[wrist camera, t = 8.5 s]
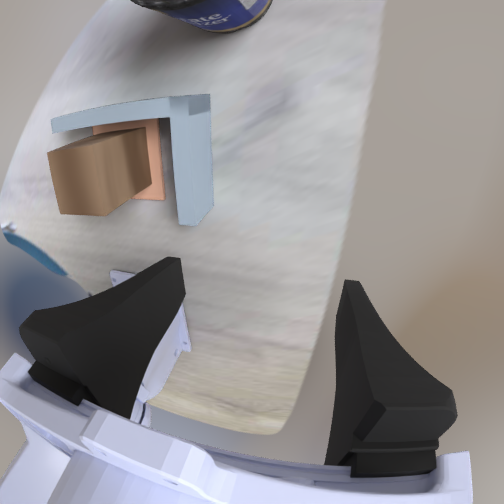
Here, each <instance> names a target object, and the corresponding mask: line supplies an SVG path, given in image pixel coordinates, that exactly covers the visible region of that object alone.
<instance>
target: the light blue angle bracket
mask: <svg viewBox="0 0 504 504" xmlns="http://www.w3.org/2000/svg"><path fill="white" fill-rule="evenodd" d="M164 117H170V125H171V141H172V155H173V168H174V180H175V191H176V201H177V210H178V219H179V225H189V226H196V225H197V224H198V223H199V222H200V221H201V220H202V219H203V217H204V216H205V215H206V214H207V213H208V212H209V211H210V209H211V208H212V207H213V206H214V200H213V178H212V153H211V120H210V94H200V95H185V96H174V97H164V98H155V99H147V100H139V101H133V102H126V103H120V104H114V105H109V106H103V107H98V108H93V109H88V110H84V111H79V112H75V113H71V114H67V115H64V116H60V117H56V118H53V119H51V125H52V134H53V133H58V132H63V131H68V130H73V129H78V128H84V127H90V126H92V130H93V135H96V134H99V133H104V132H110V131H117V130H125V129H133V128H141V127H146V135H147V145H148V155H149V163H150V171H151V179H152V184H151V185H150V186H148V187H147V188H145V189H144V190H142V191H141V192H139V193H138V194H136V195H135V196H133V197H132V198H130V199H151V200H165V199H166V196H165V187H164V178H163V167H162V156H161V144H160V130H159V118H164Z"/></svg>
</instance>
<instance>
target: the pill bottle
mask: <svg viewBox="0 0 504 504" xmlns="http://www.w3.org/2000/svg"><path fill="white" fill-rule="evenodd" d="M131 1H132V2H134V3H135V4H138V5H140V6H142V7H146V8H149V9H152V10H155V11H158V12H160V13H163V14H166V15H168V16H171V17H174V18H176V19H179V20H181V21H184V22H187V23H189V24H191V25H194V26H196V27H198V28H200V29H203V30H206V31H210V32H215V33H228V32H234V31H236V30H239V29H241V28H243V27H248V26H250V25H252V24H254V23H255V22H257V21H258V20H259V19H261V17H262V16H264V15H265V13H266V12H267V10H268V9H269V7H270V5H271V3H272V0H131Z"/></svg>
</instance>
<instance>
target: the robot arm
mask: <svg viewBox="0 0 504 504" xmlns="http://www.w3.org/2000/svg"><path fill="white" fill-rule="evenodd" d="M109 274H110V278H111V281H112V285H113V287H112V288H110V289H108V290H106V291H104V292H101V293H99V294H97V295H94V296H91V297H88V298H86V299H83V300H80V301H77V302H74V303H70V304H66V305H62V306H58V307H54V308H48V309H42V310H35V311H34V312H33V313H32V314H31V315H30V316H29V317H28V318H27V319H26V320H25V321H24V322H23V323H22V324H21V326H20V327H19V331H20V335H21V338H22V340H23V341H24V343H25V345H26V346H27V348H28V349H29V351H30V352H31V354H32V355H33V357H34V358H35V360H36V361H35V363H34V364H33V365H32V364H31V363H30V362H29V361H28V360H26V359H25V358H23V357H22V356H20V355H19V354H17V353H14V354H13V355H12V357H11V358H10V359H9V361H8V362H7V363H6V364H5V365H4V367H3V368H2V369H1V370H0V402H1V403H2V404H3V405H4V406H5V407H6V408H7V409H8V410H9V411H10V412H11V413H12V414H13V415H14V416H15V417H16V418H17V419H18V420H19V421H21V424H22V426H23V429H24V432H25V434H26V437H27V439H26V441H25V442H24V444H23V445H22V447H21V449H20V450H19V451H18V453H17V454H16V456H15V458H14V459H13V461H12V462H11V464H10V465H9V467H8V468H7V470H6V471H5V473H4V475H3V476H2V478H1V479H0V504H473V493H472V477H471V466H470V457H469V451H461V452H455V453H448V454H443V455H440V456H437V457H436V454H435V450H437V449H438V447H439V441H438V438H439V437H440V436H441V435H442V434H443V433H445V432H446V431H447V430H448V429H449V428H450V427H451V426H452V424H453V423H454V422H455V421H456V418H457V410H456V404H455V399H454V396H453V393H452V390H451V389H449V388H448V387H447V386H445V385H444V384H442V383H441V382H440V381H438V380H437V379H436V378H434V377H433V376H432V375H431V374H429V373H428V372H427V371H426V370H424V368H422V367H421V366H420V365H419V364H418V363H417V362H416V361H415V360H414V359H413V358H412V357H411V356H410V355H409V354H408V353H407V352H406V351H405V350H404V349H403V348H402V346H401V345H400V344H399V343H398V342H397V341H396V339H395V338H394V337H393V336H392V334H391V333H390V332H389V330H388V329H387V327H386V326H385V324H384V323H383V321H382V320H381V318H380V317H379V315H378V313H377V312H376V310H375V308H374V307H373V305H372V303H371V302H370V300H369V298H368V296H367V295H366V293H365V291H364V289H363V287H362V285H361V283H360V282H359V281H353V280H345V281H344V286H343V290H342V295H341V299H340V303H339V307H338V311H337V315H336V327H335V354H336V392H335V402H334V410H333V418H332V425H331V431H330V437H329V444H328V449H327V454H326V458H325V463H324V465H316V464H306V463H296V462H288V461H281V460H274V459H268V458H262V457H256V456H251V455H245V454H241V453H236V452H232V451H227V450H223V449H219V448H215V447H211V446H207V445H203V444H200V443H196V442H193V441H189V440H186V439H183V438H179V437H176V436H173V435H170V434H167V433H164V432H161V431H158V430H155V429H153V428H150V424H151V408H150V405H149V404H148V403H147V402H145V401H147V400H149V399H151V398H153V397H155V396H156V395H157V394H158V393H159V392H160V391H161V390H162V388H163V387H164V385H165V383H166V381H167V379H168V377H169V375H170V373H171V371H172V369H173V367H174V365H175V363H176V361H177V359H178V357H179V355H180V353H181V351H186V352H190V351H191V348H192V347H191V343H190V338H189V333H188V328H187V323H186V318H185V312H184V307H183V299H184V297H185V294H186V292H185V286H184V280H183V273H182V266H181V260H180V258H175V257H166V258H164V259H162V260H161V261H159V262H157V263H155V264H153V265H152V266H150V267H148V268H147V269H145V270H143V271H142V272H140V273H138V274H132V273H126V272H121V271H116V270H112V271H111V272H110V273H109Z"/></svg>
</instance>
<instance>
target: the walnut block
mask: <svg viewBox="0 0 504 504" xmlns="http://www.w3.org/2000/svg"><path fill="white" fill-rule="evenodd" d="M47 155H48V160H49V166H50V171H51V176H52V181H53V185H54V190H55V194H56V198H57V202H58V206H59V210H60V214H70V215H92V216H106V215H108V214H109V213H111V212H112V211H113V210H115V209H116V208H117V207H119V206H120V205H122V204H123V203H125V202H126V201H127V200H129V199H130V198H132V197H133V196H135V195H136V194H138V193H139V192H141V191H142V190H144V189H145V188H147V187H148V186H150V185H151V184H152V179H151V171H150V163H149V155H148V145H147V135H146V127H141V128H133V129H125V130H117V131H110V132H104V133H99V134H96V135H93V136H90V137H87V138H84V139H82V140H79V141H76V142H73V143H71V144H68V145H65V146H63V147H60V148H58V149H55V150H53V151H50V152H48V153H47Z"/></svg>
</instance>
